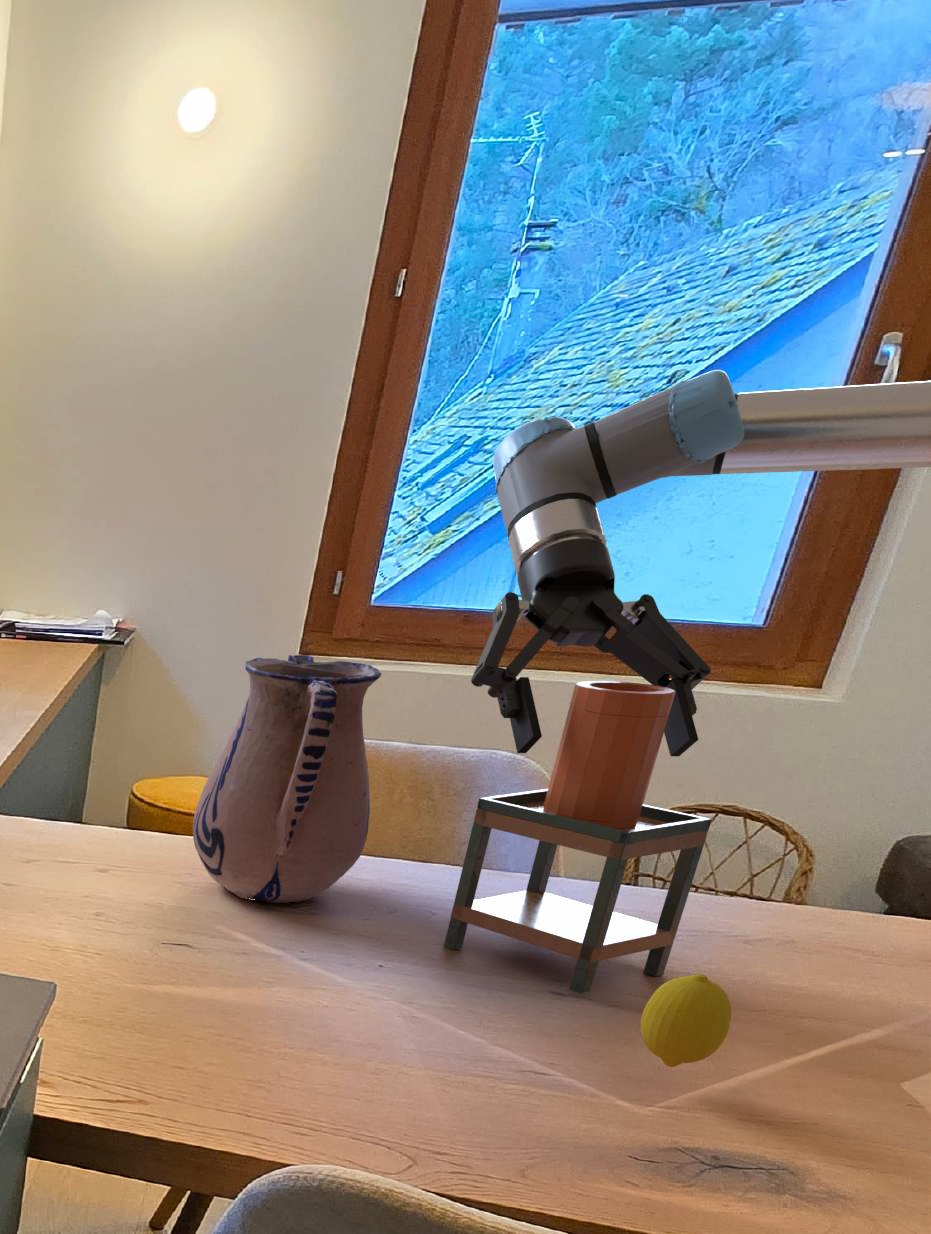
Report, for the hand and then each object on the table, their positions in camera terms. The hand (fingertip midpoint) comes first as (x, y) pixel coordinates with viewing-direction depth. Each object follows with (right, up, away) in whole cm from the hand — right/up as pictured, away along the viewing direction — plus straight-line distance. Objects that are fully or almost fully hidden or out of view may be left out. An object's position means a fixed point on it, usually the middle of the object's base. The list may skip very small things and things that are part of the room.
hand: (606, 747), depth 120 cm
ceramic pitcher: (-19, -11, +26) cm, 34 cm away
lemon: (-6, -29, -15) cm, 33 cm away
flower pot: (0, -6, +2) cm, 7 cm away
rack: (0, -19, +8) cm, 21 cm away
